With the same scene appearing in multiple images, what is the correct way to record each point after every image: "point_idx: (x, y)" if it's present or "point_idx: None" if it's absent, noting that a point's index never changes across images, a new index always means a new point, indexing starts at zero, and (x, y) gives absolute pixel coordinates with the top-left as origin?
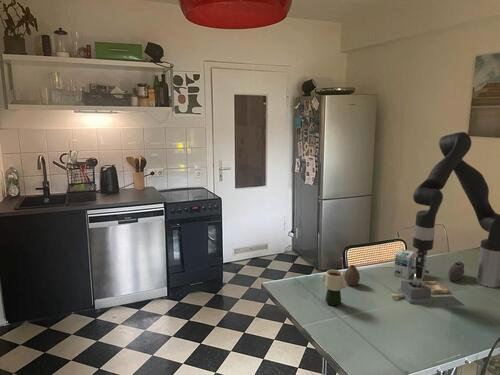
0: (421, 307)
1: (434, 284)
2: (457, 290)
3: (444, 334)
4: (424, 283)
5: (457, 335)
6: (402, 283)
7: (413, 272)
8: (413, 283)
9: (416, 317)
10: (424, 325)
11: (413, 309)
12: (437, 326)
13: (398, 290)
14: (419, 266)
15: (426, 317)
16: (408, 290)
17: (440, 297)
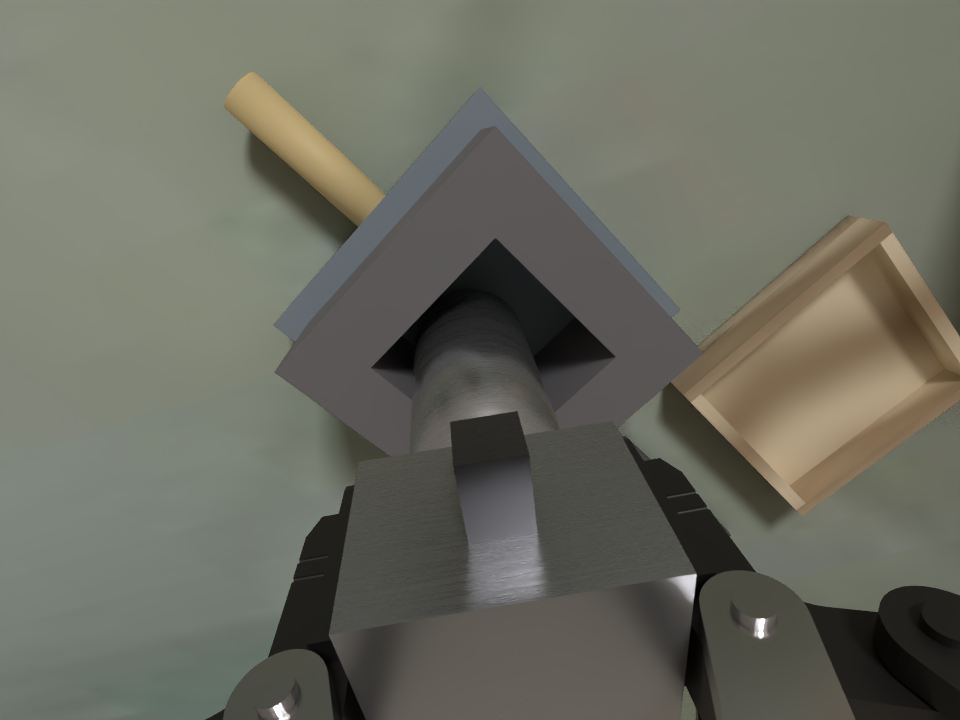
0: (318, 413)
1: (927, 360)
2: (890, 520)
3: (26, 648)
4: (894, 282)
5: (100, 694)
6: (463, 158)
7: (356, 484)
8: (423, 363)
9: (77, 443)
10: (7, 528)
11: (210, 374)
12: (94, 591)
13: (468, 101)
14: (501, 692)
15: (162, 498)
16: (337, 297)
17: None
